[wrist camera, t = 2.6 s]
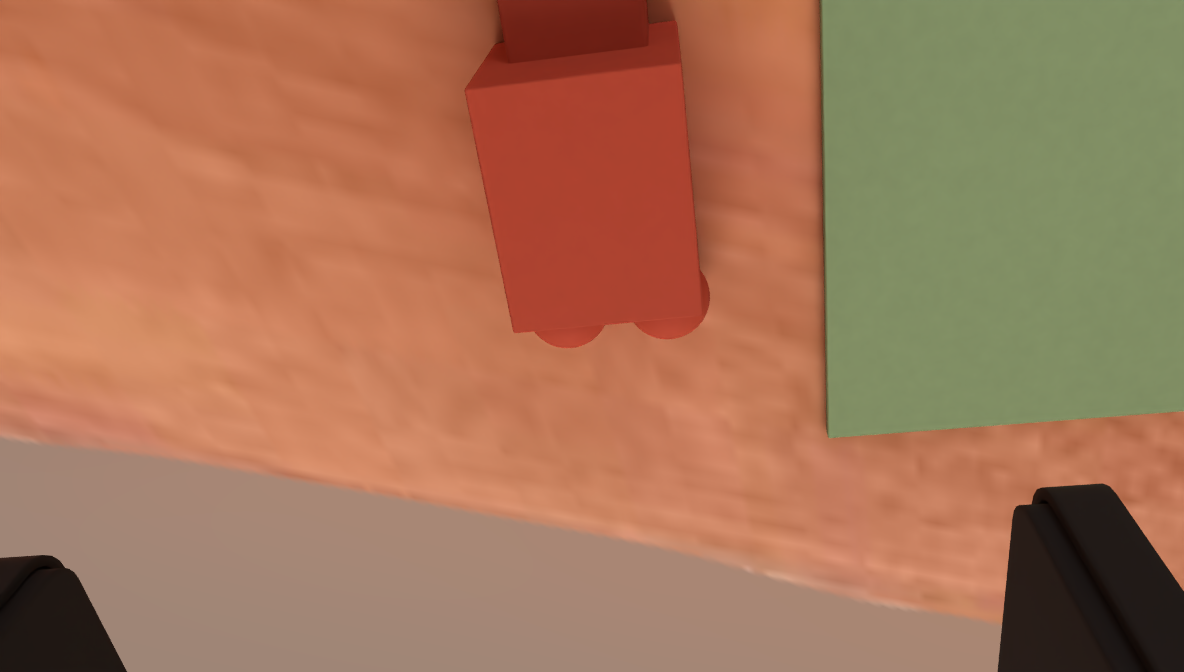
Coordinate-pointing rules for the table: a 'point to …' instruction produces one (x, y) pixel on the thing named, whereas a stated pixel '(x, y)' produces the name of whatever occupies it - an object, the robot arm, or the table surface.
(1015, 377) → the green cloth
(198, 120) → the table surface
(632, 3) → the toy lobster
